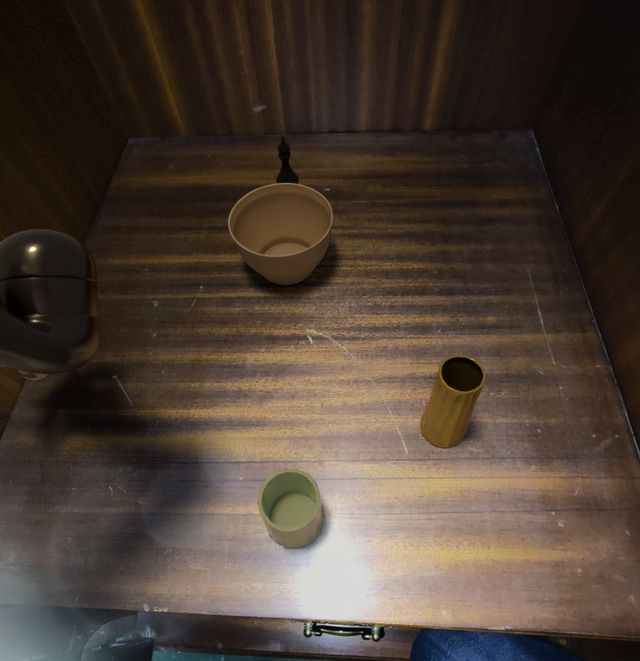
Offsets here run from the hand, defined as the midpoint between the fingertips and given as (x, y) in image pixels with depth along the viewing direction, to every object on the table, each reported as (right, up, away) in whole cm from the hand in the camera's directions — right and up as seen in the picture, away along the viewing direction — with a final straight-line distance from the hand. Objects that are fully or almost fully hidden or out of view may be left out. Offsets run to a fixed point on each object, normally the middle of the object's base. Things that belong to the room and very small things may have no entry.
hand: (14, 343), depth 66 cm
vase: (+56, -11, +4) cm, 57 cm away
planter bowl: (+33, +13, +22) cm, 42 cm away
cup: (+36, -22, -2) cm, 42 cm away
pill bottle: (+2, -3, +3) cm, 5 cm away
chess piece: (+33, +31, +35) cm, 57 cm away
